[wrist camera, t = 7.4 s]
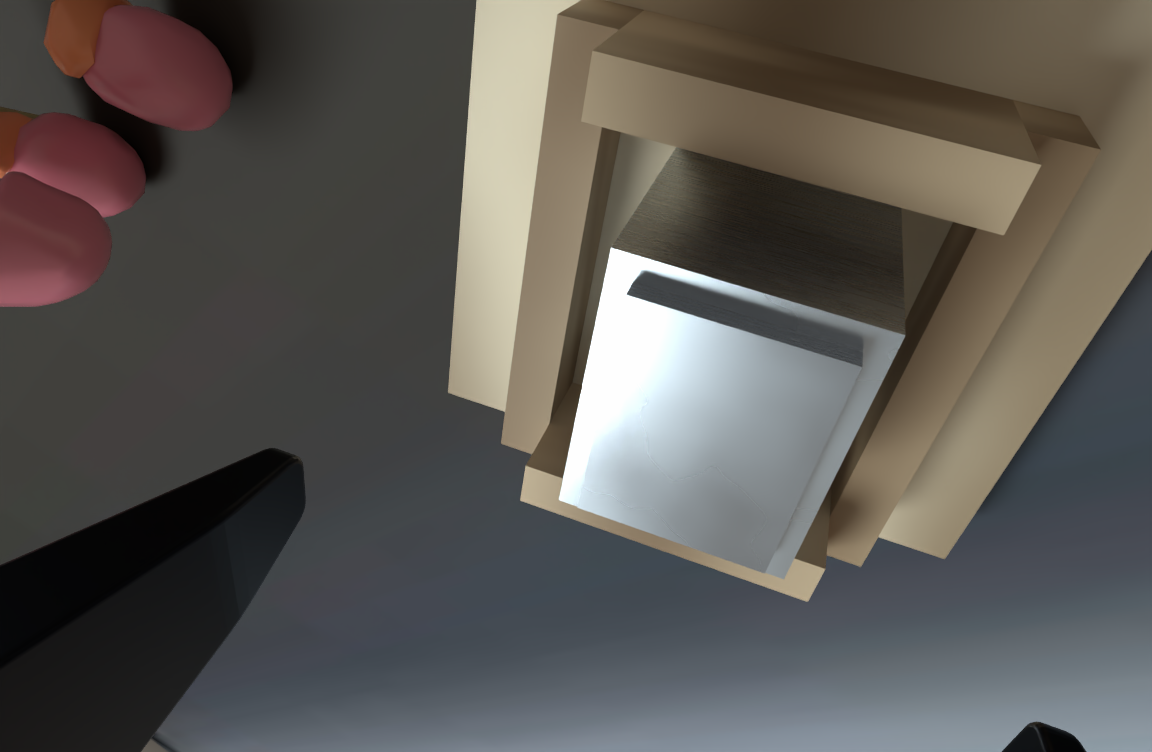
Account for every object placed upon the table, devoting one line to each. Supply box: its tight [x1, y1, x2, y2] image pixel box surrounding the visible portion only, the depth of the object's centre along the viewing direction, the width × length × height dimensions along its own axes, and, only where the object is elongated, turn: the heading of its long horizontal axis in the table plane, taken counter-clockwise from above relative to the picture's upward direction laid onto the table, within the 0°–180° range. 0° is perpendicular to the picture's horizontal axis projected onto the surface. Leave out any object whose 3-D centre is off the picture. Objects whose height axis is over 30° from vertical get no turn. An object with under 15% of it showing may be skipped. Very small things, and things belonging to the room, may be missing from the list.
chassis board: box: [448, 0, 1152, 602], centre depth 12 cm, size 12×20×4 cm, turn 170°
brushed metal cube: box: [559, 147, 906, 579], centre depth 14 cm, size 4×5×5 cm
